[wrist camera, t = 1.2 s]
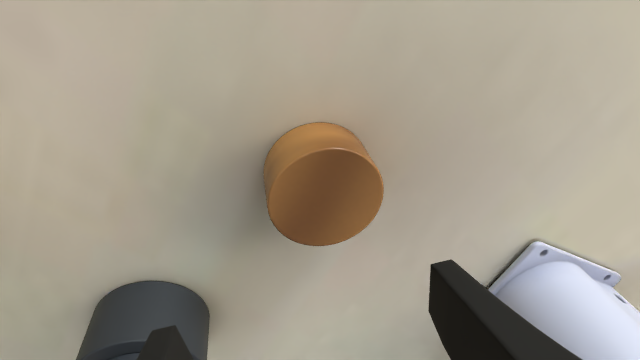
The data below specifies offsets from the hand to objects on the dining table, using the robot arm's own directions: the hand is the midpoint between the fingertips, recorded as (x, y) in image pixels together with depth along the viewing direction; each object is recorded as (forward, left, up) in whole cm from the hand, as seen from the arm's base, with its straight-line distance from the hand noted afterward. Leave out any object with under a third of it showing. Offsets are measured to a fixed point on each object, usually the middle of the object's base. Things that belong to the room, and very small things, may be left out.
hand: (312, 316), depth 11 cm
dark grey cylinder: (+2, +11, -8) cm, 14 cm away
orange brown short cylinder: (-2, -1, -8) cm, 9 cm away
